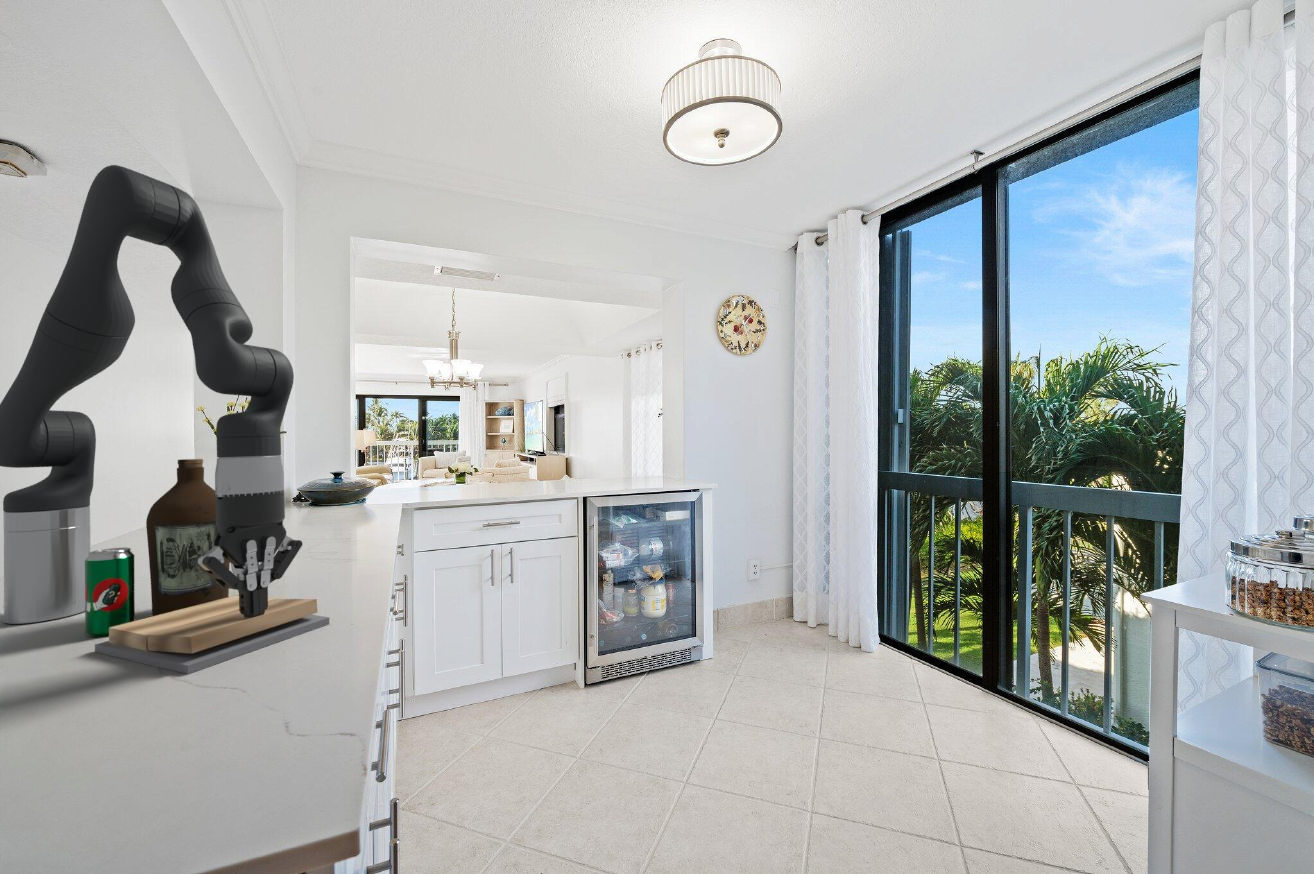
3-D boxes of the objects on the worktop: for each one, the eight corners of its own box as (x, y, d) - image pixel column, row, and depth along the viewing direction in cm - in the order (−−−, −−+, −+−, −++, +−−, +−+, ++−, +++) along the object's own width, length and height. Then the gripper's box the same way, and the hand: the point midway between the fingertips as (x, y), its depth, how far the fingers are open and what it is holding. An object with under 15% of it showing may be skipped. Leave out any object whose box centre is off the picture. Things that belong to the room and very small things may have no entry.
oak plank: (109, 642, 70) (109, 627, 70) (240, 606, 85) (239, 594, 85) (146, 650, 67) (146, 635, 67) (275, 612, 82) (274, 599, 82)
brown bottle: (155, 608, 88) (154, 459, 88) (236, 597, 94) (235, 457, 94) (138, 626, 79) (137, 461, 80) (228, 613, 85) (227, 459, 85)
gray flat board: (94, 651, 70) (94, 644, 70) (242, 610, 87) (242, 604, 87) (188, 674, 63) (188, 665, 63) (329, 623, 80) (329, 617, 80)
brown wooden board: (148, 650, 67) (147, 634, 67) (277, 611, 82) (276, 598, 82) (191, 653, 64) (190, 636, 64) (317, 612, 79) (316, 599, 79)
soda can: (144, 626, 80) (143, 546, 80) (106, 638, 75) (105, 554, 75) (114, 625, 80) (114, 546, 80) (74, 637, 75) (74, 553, 75)
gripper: (281, 485, 80) (284, 600, 80) (176, 494, 67) (179, 630, 67) (316, 485, 77) (319, 603, 77) (213, 494, 65) (216, 635, 65)
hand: (253, 615), depth 72 cm, fingers closed
